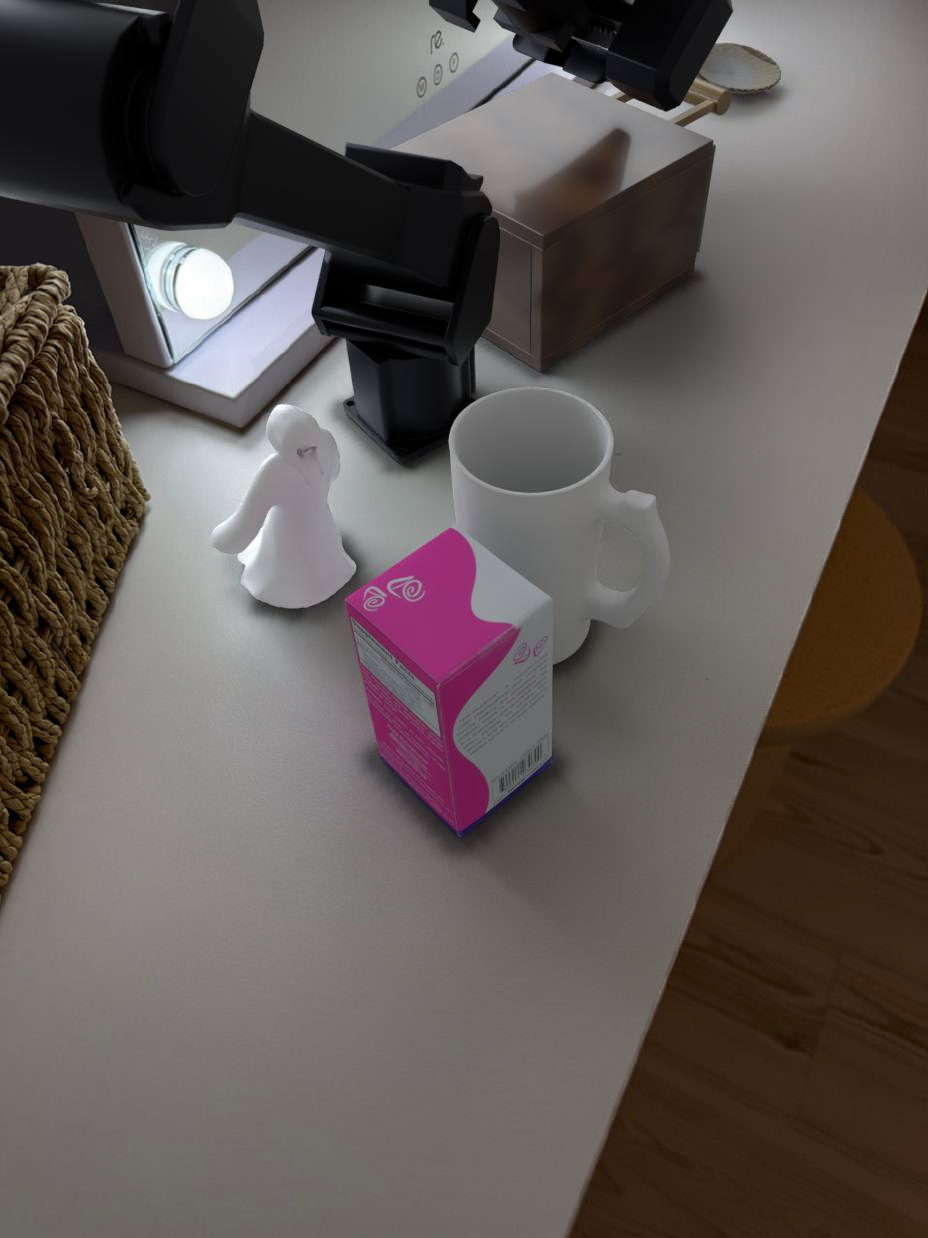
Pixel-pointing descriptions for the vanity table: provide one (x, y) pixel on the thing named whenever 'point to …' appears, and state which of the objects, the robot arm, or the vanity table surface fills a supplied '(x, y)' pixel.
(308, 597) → the figurine
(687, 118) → the drawer
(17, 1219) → the vanity table surface
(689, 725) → the vanity table surface
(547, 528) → the mug
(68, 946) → the vanity table surface
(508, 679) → the supplement box
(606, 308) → the cabinet
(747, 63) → the seashell
